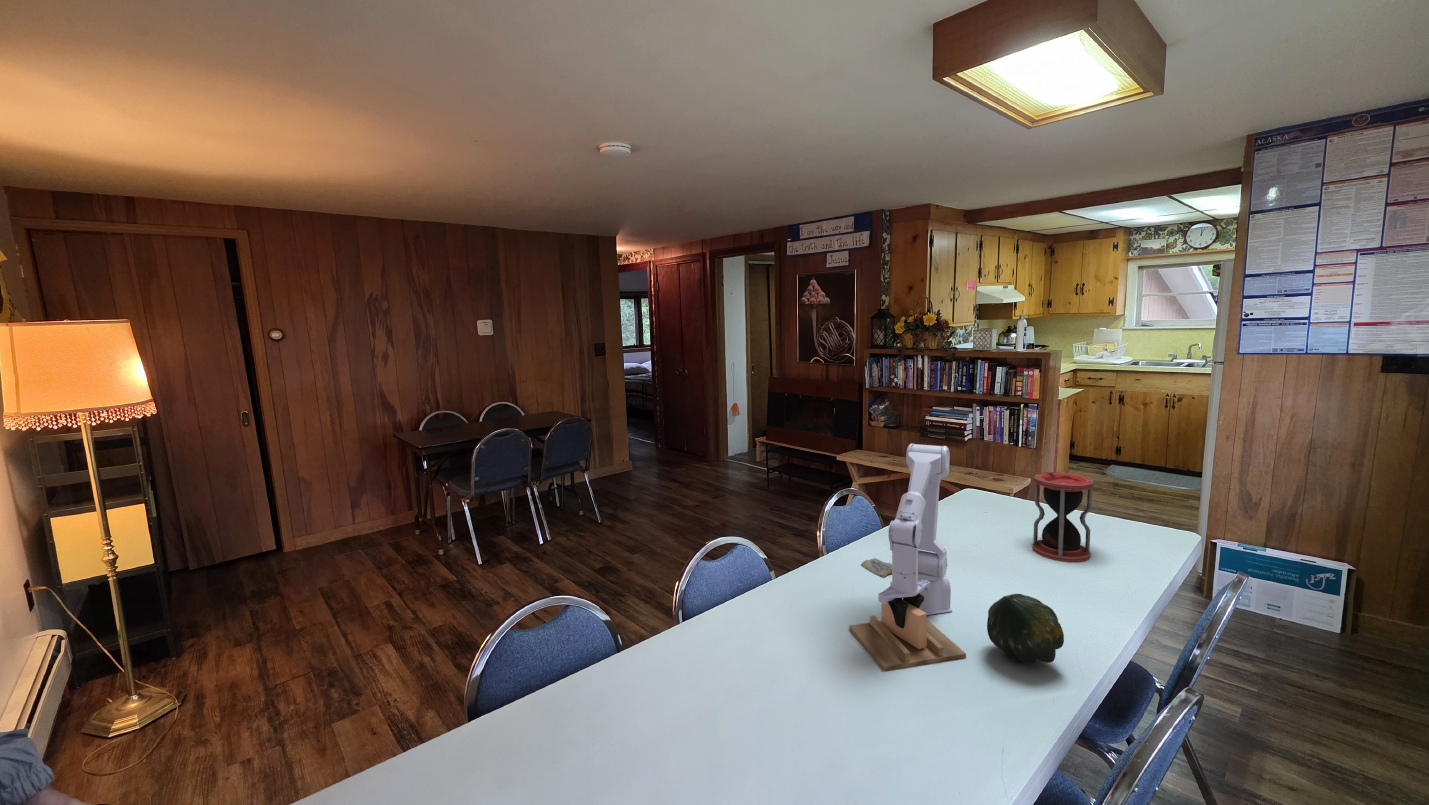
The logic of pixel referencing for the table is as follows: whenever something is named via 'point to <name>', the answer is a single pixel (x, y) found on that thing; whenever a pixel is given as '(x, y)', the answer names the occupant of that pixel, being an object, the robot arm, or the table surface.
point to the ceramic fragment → (877, 567)
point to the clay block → (908, 625)
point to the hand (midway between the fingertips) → (904, 624)
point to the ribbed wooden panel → (904, 646)
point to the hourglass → (1062, 517)
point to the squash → (1024, 629)
